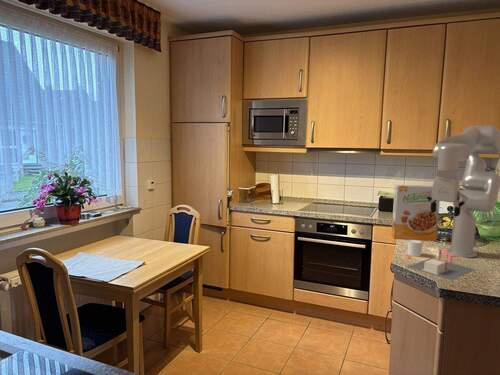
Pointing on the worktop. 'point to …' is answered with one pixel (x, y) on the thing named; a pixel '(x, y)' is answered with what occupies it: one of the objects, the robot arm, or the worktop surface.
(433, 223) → the cereal box
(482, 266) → the worktop surface
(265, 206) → the worktop surface
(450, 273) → the mat
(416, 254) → the white cup
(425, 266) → the card box
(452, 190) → the robot arm
